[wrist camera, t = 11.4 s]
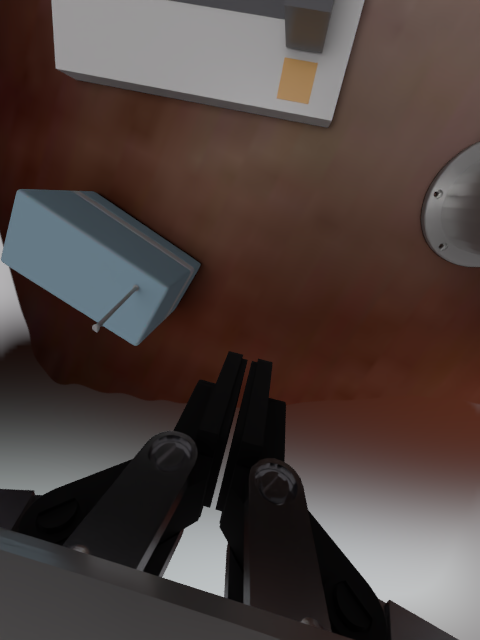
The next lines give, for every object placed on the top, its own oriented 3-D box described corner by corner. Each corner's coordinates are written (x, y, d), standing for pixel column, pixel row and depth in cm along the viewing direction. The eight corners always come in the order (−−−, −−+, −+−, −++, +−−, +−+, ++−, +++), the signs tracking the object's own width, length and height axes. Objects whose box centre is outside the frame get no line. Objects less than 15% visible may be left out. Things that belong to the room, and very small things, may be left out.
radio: (76, 250, 40) (-104, 294, 22) (98, 190, 36) (-98, 182, 18) (173, 313, 41) (81, 405, 23) (204, 262, 37) (122, 323, 19)
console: (381, -70, 24) (393, -106, 21) (328, 127, 30) (331, 120, 27) (68, -114, 26) (41, -152, 23) (76, 79, 32) (55, 68, 29)
